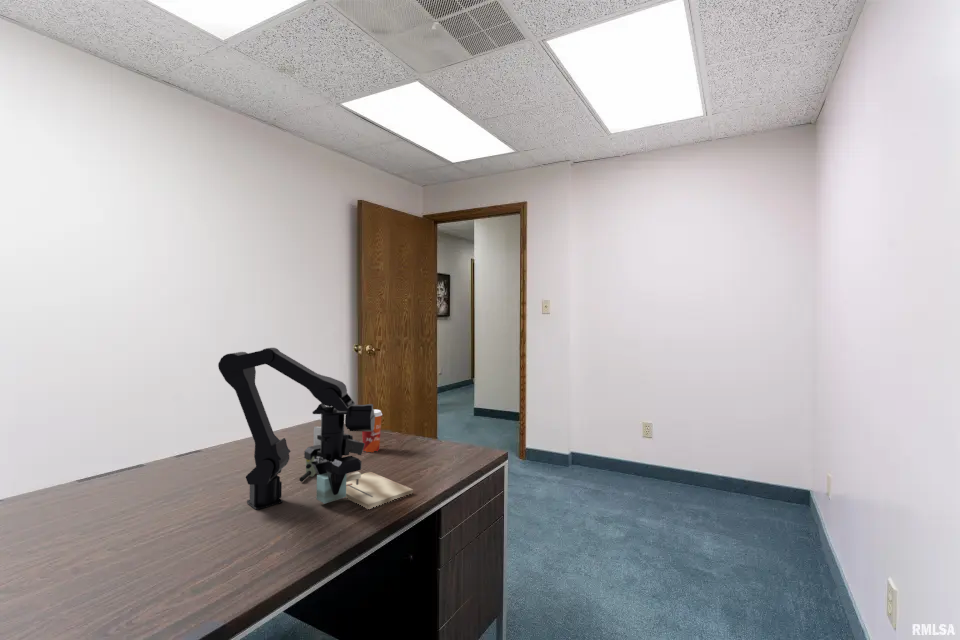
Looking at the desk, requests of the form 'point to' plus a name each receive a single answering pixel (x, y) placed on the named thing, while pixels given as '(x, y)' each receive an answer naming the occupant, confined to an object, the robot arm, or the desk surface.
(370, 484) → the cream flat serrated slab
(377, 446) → the paper cup
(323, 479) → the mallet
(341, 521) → the desk surface
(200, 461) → the desk surface
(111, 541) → the desk surface
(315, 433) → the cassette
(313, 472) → the handheld radio
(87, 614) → the desk surface
